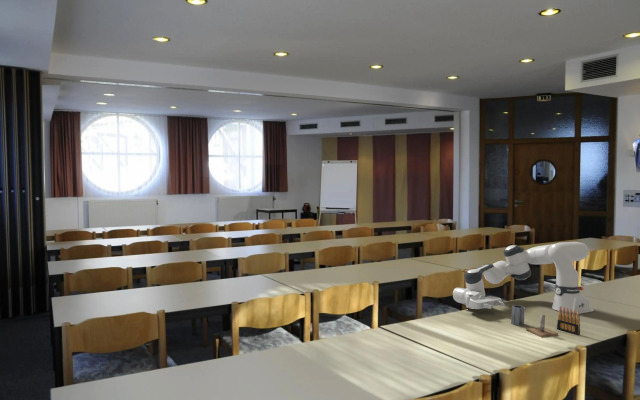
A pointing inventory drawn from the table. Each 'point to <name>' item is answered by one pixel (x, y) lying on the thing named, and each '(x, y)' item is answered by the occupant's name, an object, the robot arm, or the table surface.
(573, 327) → the ammunition clip
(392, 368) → the table surface
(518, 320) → the grey octagonal tube
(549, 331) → the stand
